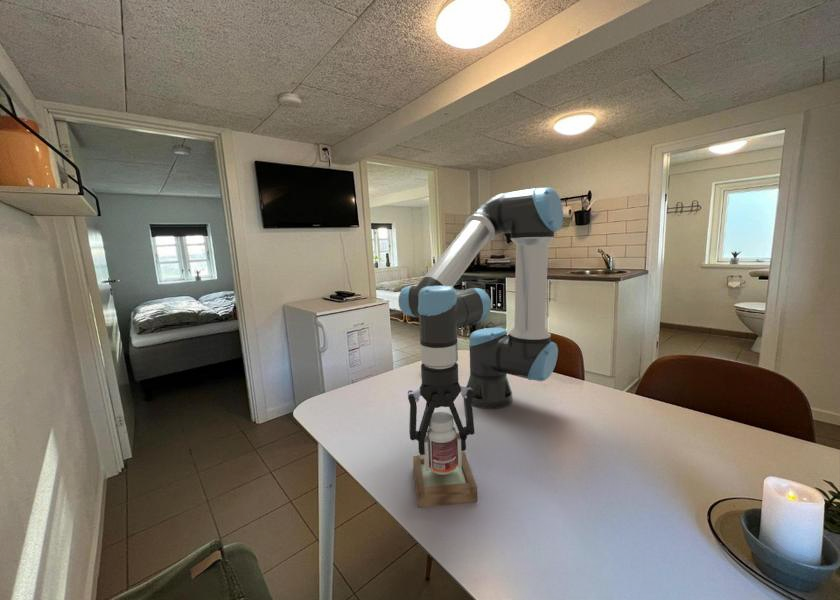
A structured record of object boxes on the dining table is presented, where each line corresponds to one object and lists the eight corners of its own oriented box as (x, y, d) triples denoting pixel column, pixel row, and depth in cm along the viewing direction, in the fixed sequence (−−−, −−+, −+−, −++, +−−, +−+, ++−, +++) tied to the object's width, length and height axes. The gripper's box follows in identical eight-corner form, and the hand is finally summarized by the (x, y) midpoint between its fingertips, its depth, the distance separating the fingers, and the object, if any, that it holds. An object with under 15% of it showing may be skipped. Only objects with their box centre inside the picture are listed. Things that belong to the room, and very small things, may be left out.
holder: (464, 463, 81) (464, 451, 80) (477, 501, 69) (477, 487, 69) (413, 468, 80) (413, 456, 79) (418, 507, 68) (417, 493, 68)
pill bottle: (463, 468, 73) (462, 418, 71) (439, 480, 70) (438, 428, 68) (445, 454, 78) (443, 407, 76) (422, 464, 75) (420, 416, 73)
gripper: (480, 353, 74) (482, 450, 78) (391, 359, 73) (397, 458, 77) (490, 365, 67) (491, 472, 71) (392, 372, 66) (398, 481, 69)
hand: (442, 465), depth 74 cm, fingers closed on pill bottle, 6 cm apart
